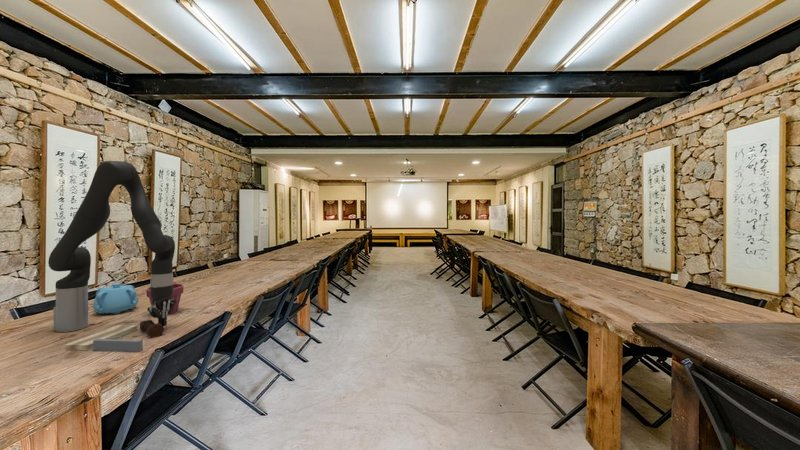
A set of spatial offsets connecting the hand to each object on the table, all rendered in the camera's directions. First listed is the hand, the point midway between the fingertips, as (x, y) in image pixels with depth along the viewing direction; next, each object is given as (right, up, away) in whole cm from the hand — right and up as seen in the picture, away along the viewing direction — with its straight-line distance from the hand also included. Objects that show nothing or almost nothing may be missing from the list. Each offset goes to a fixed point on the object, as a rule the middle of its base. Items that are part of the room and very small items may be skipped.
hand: (162, 326), depth 130 cm
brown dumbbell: (-3, -2, -3) cm, 4 cm away
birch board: (-14, -2, -10) cm, 18 cm away
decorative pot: (-41, -1, +24) cm, 47 cm away
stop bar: (-1, -2, -20) cm, 20 cm away
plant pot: (-16, -1, +23) cm, 28 cm away
